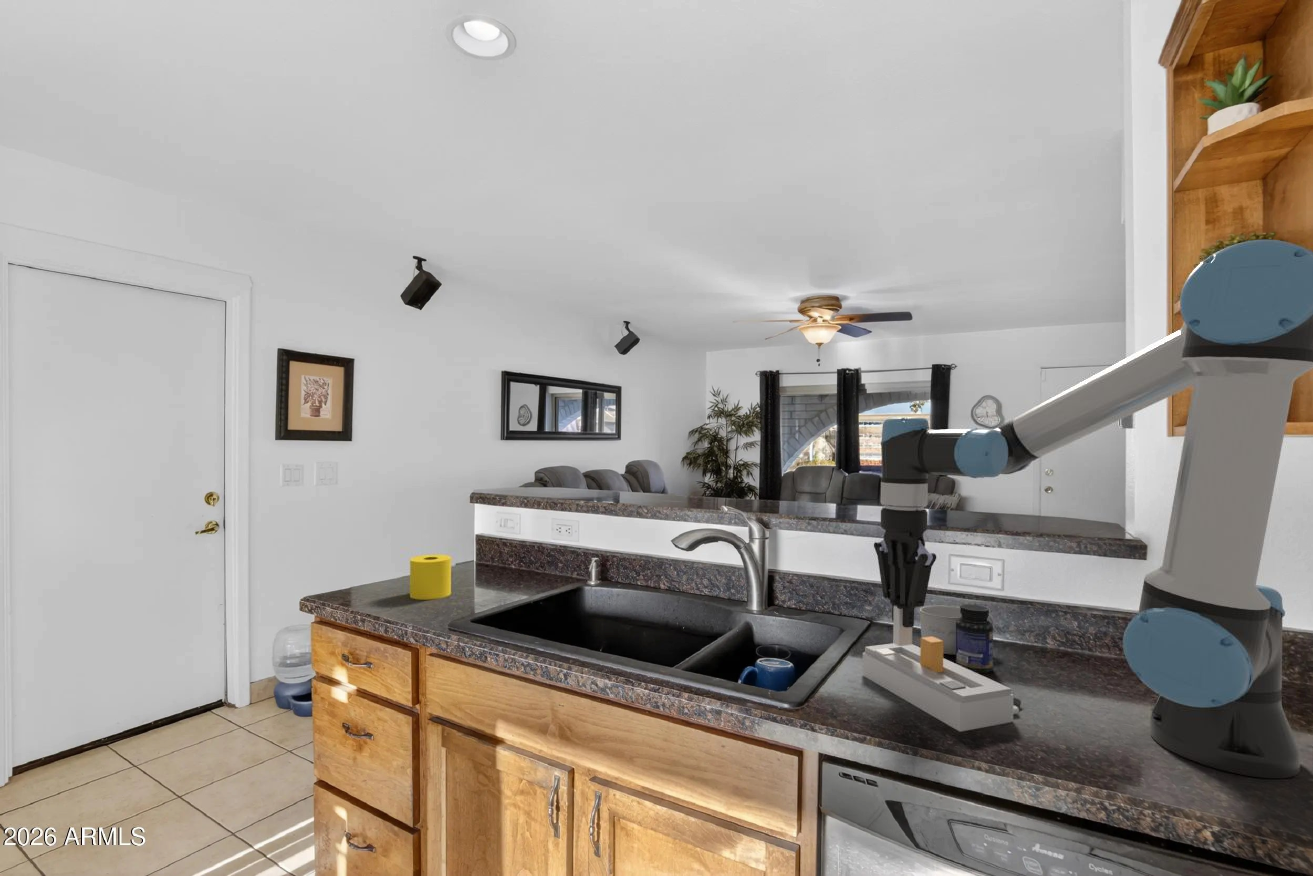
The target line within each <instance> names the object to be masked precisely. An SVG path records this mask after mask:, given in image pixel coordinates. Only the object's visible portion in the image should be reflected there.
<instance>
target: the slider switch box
mask: <svg viewBox="0 0 1313 876" xmlns="http://www.w3.org/2000/svg"><path fill="white" fill-rule="evenodd" d="M920 649H921V646H920V647H919V646H917V645H915V644H913V643H912V645H905V646H898V645H896V644H893V642H892V643H885V644H876V645H870V646H865V647H864V652H862V676H863V677H865V678H866V679H868V680H870V681H871V682H874V684H877V685H878V686H879V687H882V688H883V689H886V690H887V691H888V692H891V693H892V694H893V695H896V696H897V697H899V698H901V699H903V700H904V701H906V702H908V703H910V704H911V705H913V706H915V707H916V708H918V709H920V710H922V711H923V712H925V713H927V714H928V715H930V716H931V717H934V718H935V719H937V720H939V721H940V722H942V723H944V724H946V725H947V726H949V727H950V728H952V729H954V730H956V731H957V732H967V731H971V730H975V729H982V728H987V727H992V726H999V725H1004V724H1008V723H1013V722H1014V715H1013V697H1014V694H1012V688H1011V687H1008V686H1006V685H1003V684H1002V683H999V682H997V681H995V680H993V679H991V678H988V677H986V676H984V675H981V673H980V674H979V673H978V672H973V671H971V670H969V669H966V668H964V667H962V666H960V665H957V664H956V662H955V663H954V662H953V661H951V660H948V659H946V658H944V657H943V672H940V673H936V672H934V671H932V670H930V669H927V668H925V667H923V666H921V665H920Z"/></svg>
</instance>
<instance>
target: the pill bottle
mask: <svg viewBox="0 0 1313 876" xmlns="http://www.w3.org/2000/svg"><path fill="white" fill-rule="evenodd" d="M960 613H961V615H962V617H961V618H959V619H957V621H956V655H955V664H957V665H960V666H962V667H964V668H966V669H969V670H971V671H973V672H975V673H977V674H979V673H980V674H982V673H983V674H986V673H987V674H988V673H991V672H992V671H993V669H994V628H993V625H992V624H991V623H990V622H989V621H988V619H987V617H988V616H989V614H990V610H989V608H988V607H986V606H984V605H978V604H969V603H965V604H961V605H960Z"/></svg>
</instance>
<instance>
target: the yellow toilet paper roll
mask: <svg viewBox="0 0 1313 876" xmlns="http://www.w3.org/2000/svg"><path fill="white" fill-rule="evenodd" d="M409 561H410V562H409V565H410V566H409V572H410V573H409V576H410V577H409V597H410V598H411V599H414V600H423V601H424V600H436V599H442V598H446V597H448V596H450V595H451V594H452V587H451V586H452V556H450V555H448V554H425V555H418V556H413V557H411V558H410V560H409Z"/></svg>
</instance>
